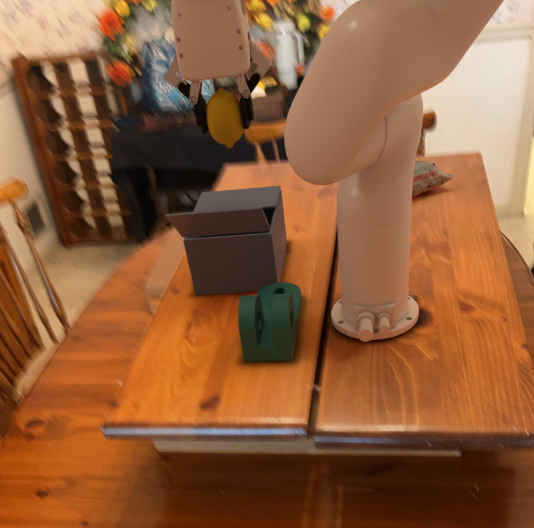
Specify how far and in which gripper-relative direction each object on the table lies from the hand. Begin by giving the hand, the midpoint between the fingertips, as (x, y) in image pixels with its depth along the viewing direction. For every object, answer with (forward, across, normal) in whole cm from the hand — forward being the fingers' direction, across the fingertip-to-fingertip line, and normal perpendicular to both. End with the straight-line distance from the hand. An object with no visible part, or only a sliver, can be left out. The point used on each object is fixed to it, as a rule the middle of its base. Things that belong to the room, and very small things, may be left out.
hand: (226, 127), depth 94 cm
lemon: (+3, 0, 0) cm, 3 cm away
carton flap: (+9, +1, +11) cm, 15 cm away
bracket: (+23, -7, +19) cm, 30 cm away
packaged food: (+22, -28, -26) cm, 45 cm away
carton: (+22, +1, 0) cm, 22 cm away
